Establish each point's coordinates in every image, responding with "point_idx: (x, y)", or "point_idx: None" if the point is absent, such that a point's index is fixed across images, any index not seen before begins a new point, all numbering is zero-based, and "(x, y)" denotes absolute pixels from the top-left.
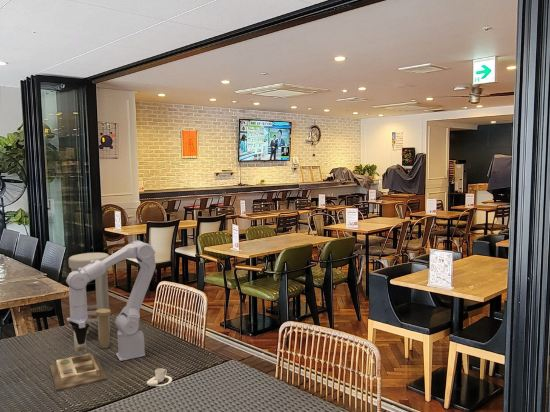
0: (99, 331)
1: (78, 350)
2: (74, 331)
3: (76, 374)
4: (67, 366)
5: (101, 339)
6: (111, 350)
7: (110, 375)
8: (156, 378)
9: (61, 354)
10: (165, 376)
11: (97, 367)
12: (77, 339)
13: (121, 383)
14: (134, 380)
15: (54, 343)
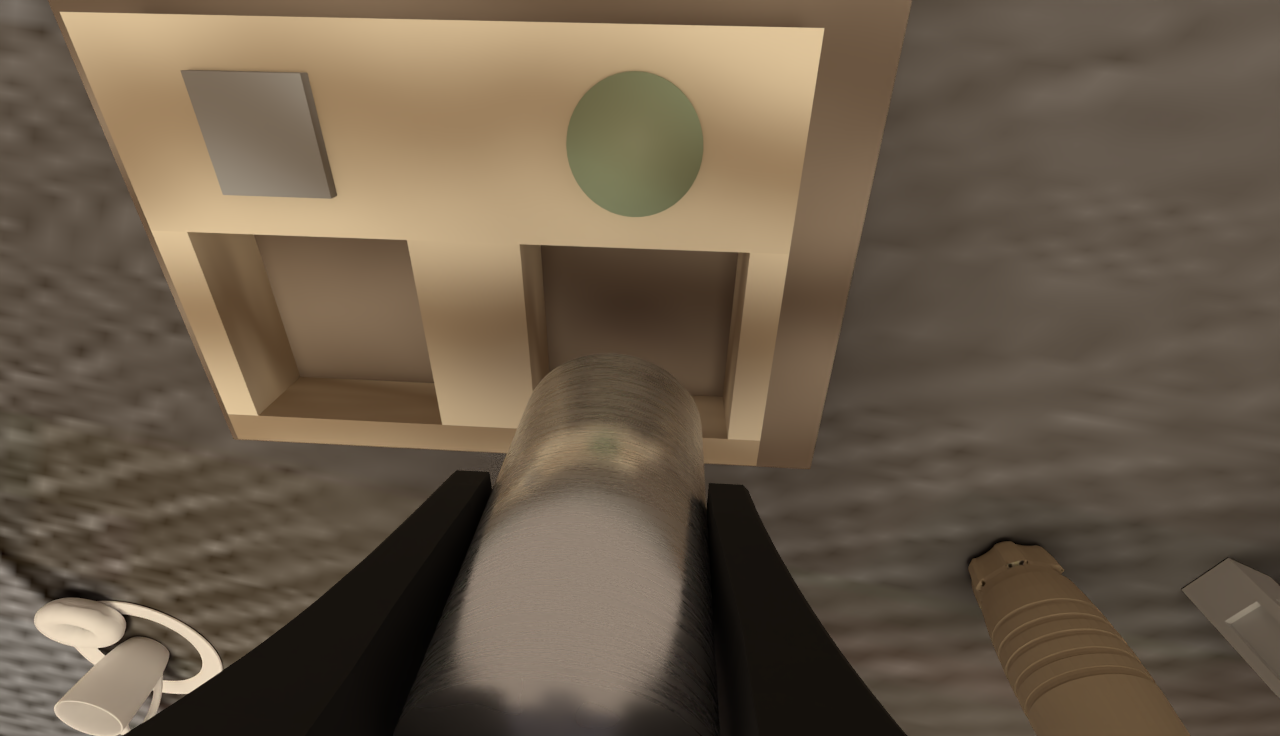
0: (1133, 704)
1: (531, 396)
2: (487, 686)
3: (156, 219)
4: (463, 157)
5: (1039, 620)
6: (877, 579)
7: (325, 464)
8: (106, 656)
9: (1257, 163)
10: (202, 680)
11: (303, 436)
12: (382, 544)
13: (147, 489)
14: (184, 558)
15: None
